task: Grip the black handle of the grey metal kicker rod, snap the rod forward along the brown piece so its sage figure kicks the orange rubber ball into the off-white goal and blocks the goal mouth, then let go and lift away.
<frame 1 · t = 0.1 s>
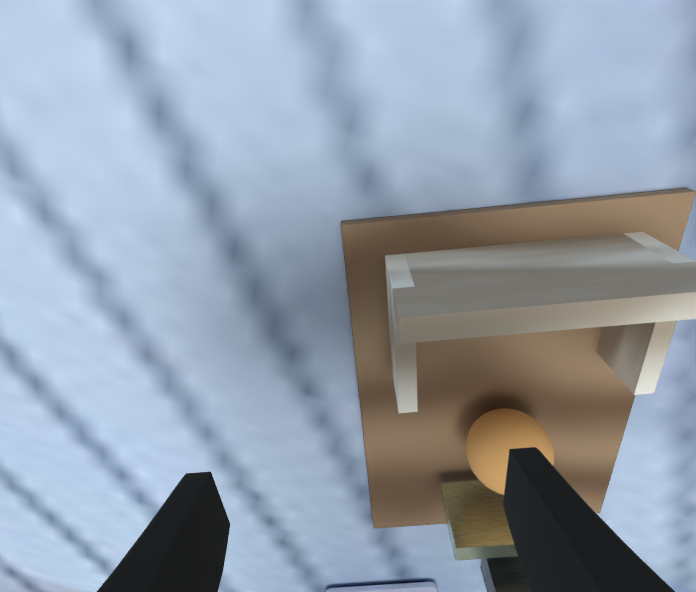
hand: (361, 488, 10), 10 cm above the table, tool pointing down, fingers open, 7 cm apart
brown piece: (494, 392, 22), on the table
ball: (508, 450, 21), point 2 cm above the table, touching brown piece
kicker: (516, 579, 21), point 5 cm above the table, slide at 0.0 cm
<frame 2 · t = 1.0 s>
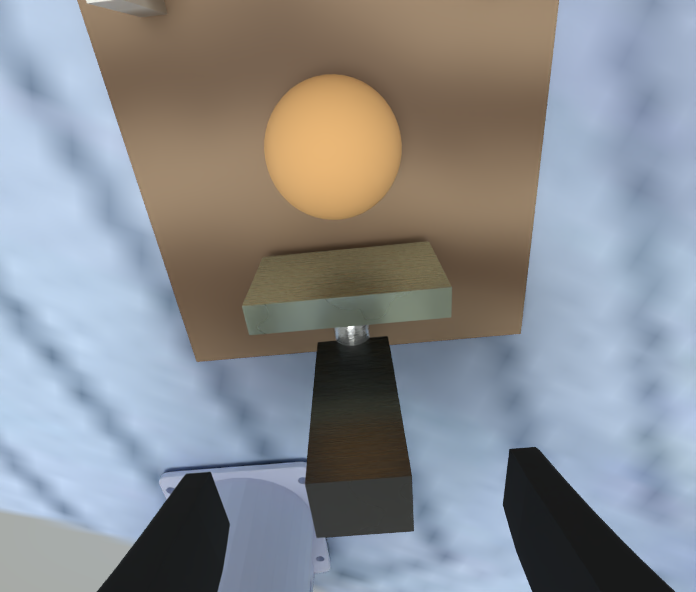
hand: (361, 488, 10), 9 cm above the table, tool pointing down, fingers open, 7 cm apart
brown piece: (329, 90, 14), on the table
ball: (333, 150, 12), point 2 cm above the table, touching brown piece
kicker: (354, 371, 13), point 5 cm above the table, slide at 0.0 cm
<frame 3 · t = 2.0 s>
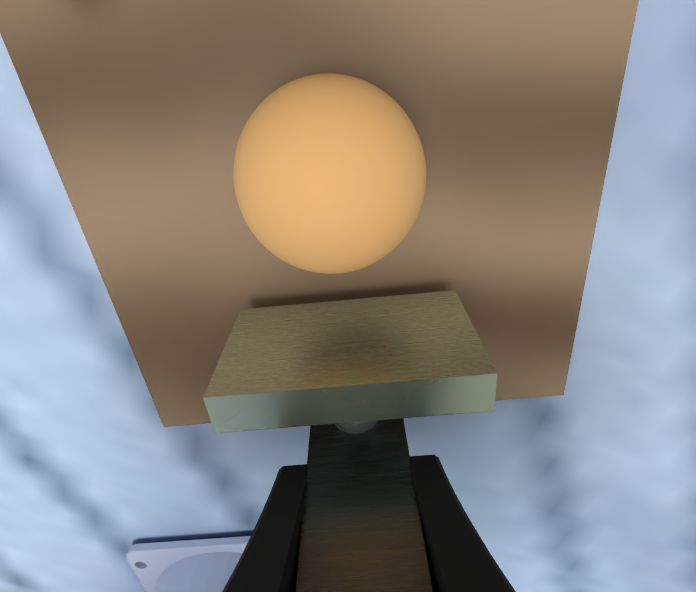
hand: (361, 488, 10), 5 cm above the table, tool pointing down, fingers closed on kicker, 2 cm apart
brown piece: (326, 95, 10), on the table
ball: (330, 179, 9), point 2 cm above the table, touching brown piece
kicker: (358, 479, 9), point 5 cm above the table, slide at 0.0 cm, touching gripper
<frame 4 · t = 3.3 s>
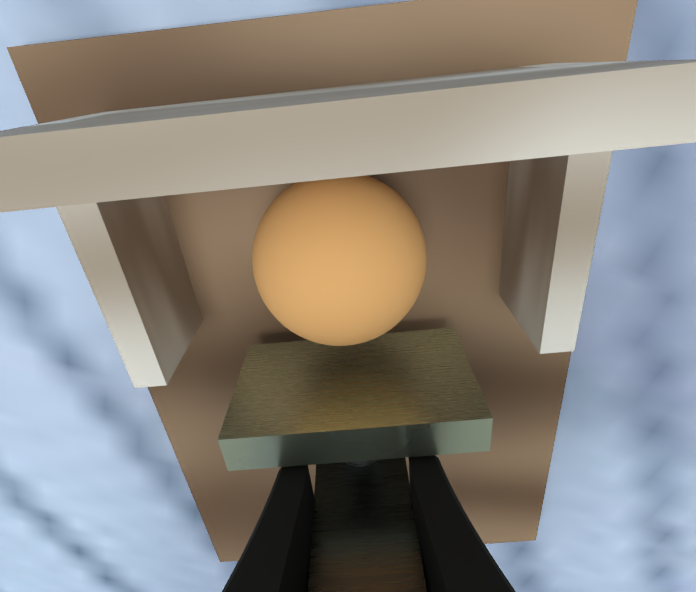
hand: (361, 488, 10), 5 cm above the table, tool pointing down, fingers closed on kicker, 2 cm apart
brown piece: (355, 363, 14), on the table
ball: (339, 259, 10), point 2 cm above the table, tilted 179°, touching brown piece
kicker: (363, 513, 10), point 5 cm above the table, slide at 7.1 cm, touching gripper
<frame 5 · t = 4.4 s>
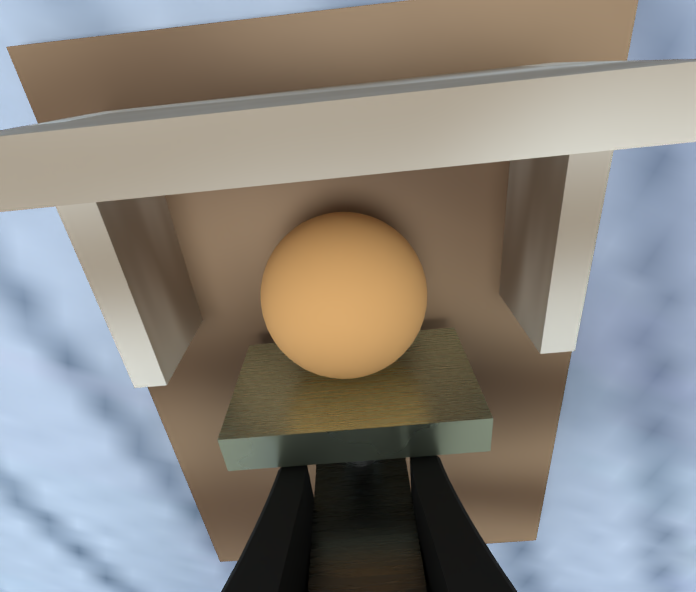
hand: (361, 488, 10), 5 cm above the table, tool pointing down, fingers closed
brown piece: (355, 363, 14), on the table
ball: (344, 295, 10), point 2 cm above the table, tilted 152°, touching brown piece
kicker: (363, 513, 10), point 5 cm above the table, slide at 7.1 cm
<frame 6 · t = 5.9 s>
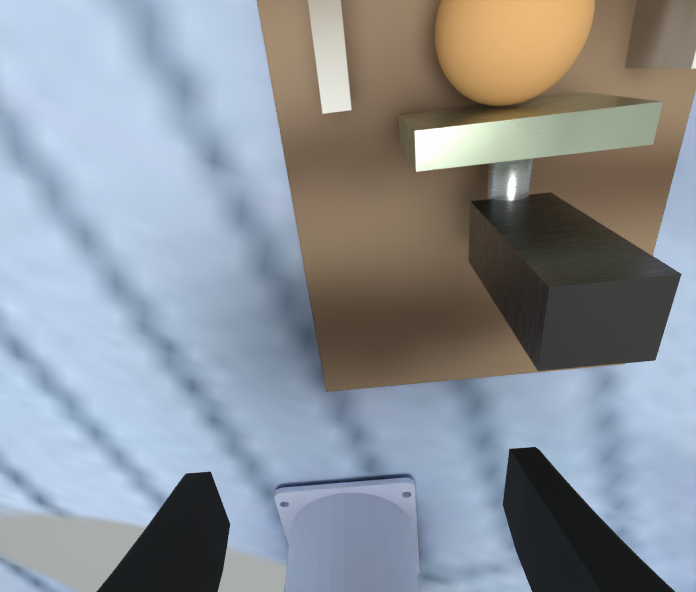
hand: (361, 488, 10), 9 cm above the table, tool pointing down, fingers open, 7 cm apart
brown piece: (478, 159, 16), on the table
ball: (509, 25, 11), point 2 cm above the table, tilted 153°, touching brown piece
kicker: (532, 216, 11), point 5 cm above the table, slide at 7.1 cm
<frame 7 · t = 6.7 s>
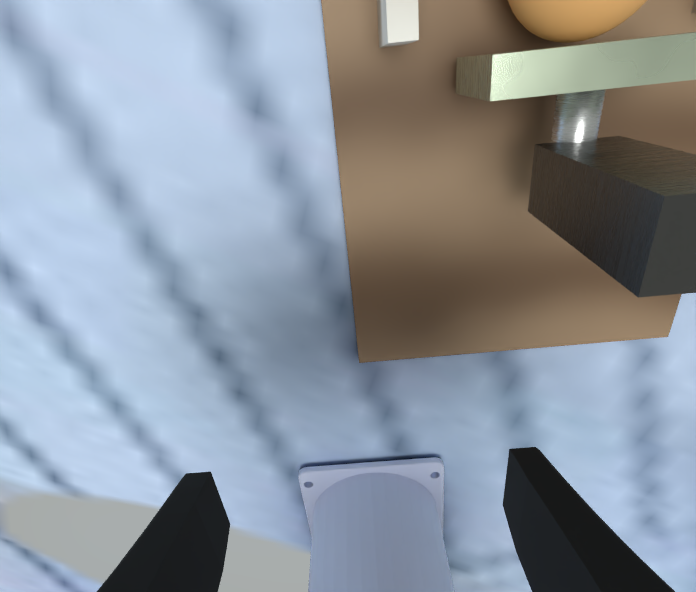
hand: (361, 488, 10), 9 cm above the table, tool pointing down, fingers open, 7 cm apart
brown piece: (531, 112, 15), on the table
kicker: (609, 152, 11), point 5 cm above the table, slide at 7.1 cm
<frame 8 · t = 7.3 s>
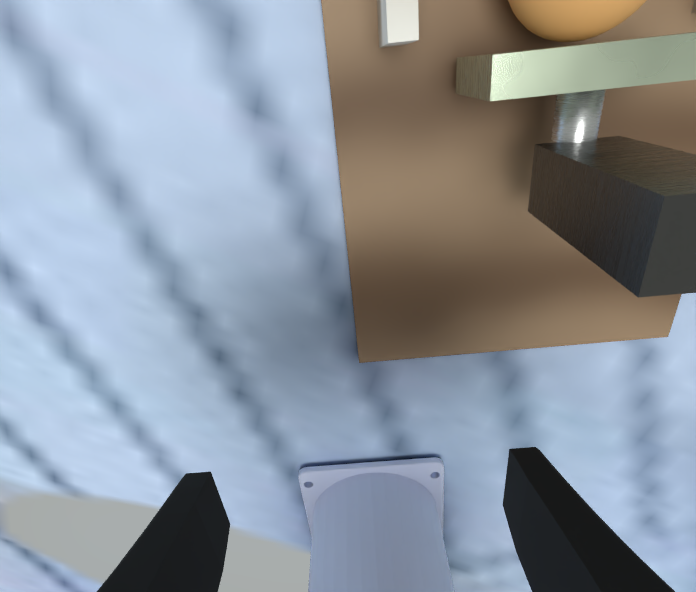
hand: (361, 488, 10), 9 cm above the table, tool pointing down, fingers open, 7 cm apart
brown piece: (531, 112, 15), on the table
kicker: (609, 152, 11), point 5 cm above the table, slide at 7.1 cm
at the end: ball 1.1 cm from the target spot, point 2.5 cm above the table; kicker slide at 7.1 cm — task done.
